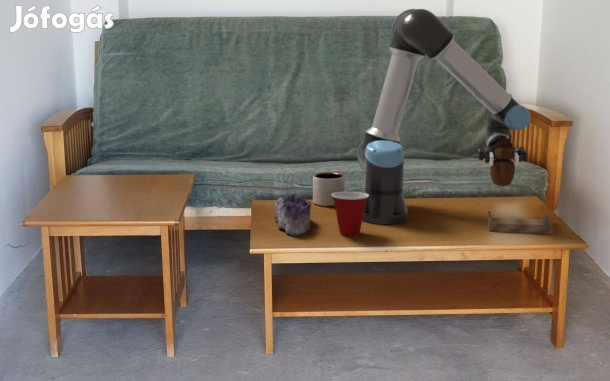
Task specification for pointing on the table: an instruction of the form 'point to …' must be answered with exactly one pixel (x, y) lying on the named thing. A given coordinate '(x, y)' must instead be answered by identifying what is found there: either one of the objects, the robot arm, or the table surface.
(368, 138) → the robot arm
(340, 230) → the plastic cup
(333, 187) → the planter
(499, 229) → the tray
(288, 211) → the geode
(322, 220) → the table surface
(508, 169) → the wooden figurine
